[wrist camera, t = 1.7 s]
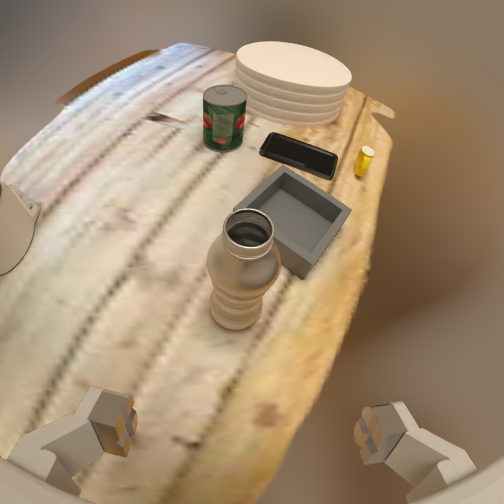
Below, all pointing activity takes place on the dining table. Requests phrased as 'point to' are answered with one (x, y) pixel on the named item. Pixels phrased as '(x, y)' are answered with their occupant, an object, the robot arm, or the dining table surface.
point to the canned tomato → (224, 117)
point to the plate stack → (291, 83)
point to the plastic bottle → (242, 268)
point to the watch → (363, 160)
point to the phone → (299, 155)
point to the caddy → (297, 217)
